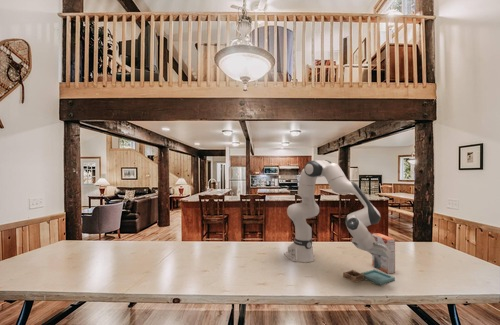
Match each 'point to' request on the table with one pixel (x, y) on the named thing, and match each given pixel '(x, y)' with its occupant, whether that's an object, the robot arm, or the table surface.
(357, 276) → the collar
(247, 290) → the table surface
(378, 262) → the peg
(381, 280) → the tray
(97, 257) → the table surface
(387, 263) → the cracker box
